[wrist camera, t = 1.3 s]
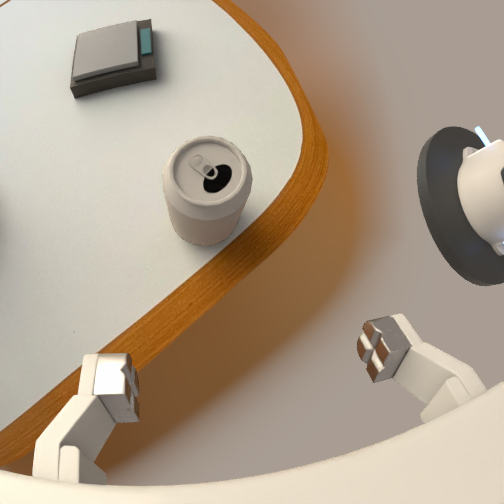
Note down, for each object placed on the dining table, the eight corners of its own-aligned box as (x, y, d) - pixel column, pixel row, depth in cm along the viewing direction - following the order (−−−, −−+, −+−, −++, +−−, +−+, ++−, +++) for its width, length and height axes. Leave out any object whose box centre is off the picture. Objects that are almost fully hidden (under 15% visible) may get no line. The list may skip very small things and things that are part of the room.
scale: (151, 29, 40) (150, 14, 37) (156, 79, 39) (154, 62, 35) (80, 46, 38) (75, 31, 35) (74, 98, 36) (67, 83, 33)
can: (210, 261, 35) (216, 233, 23) (157, 220, 35) (140, 176, 23) (250, 209, 37) (274, 162, 25) (198, 172, 37) (201, 113, 25)
